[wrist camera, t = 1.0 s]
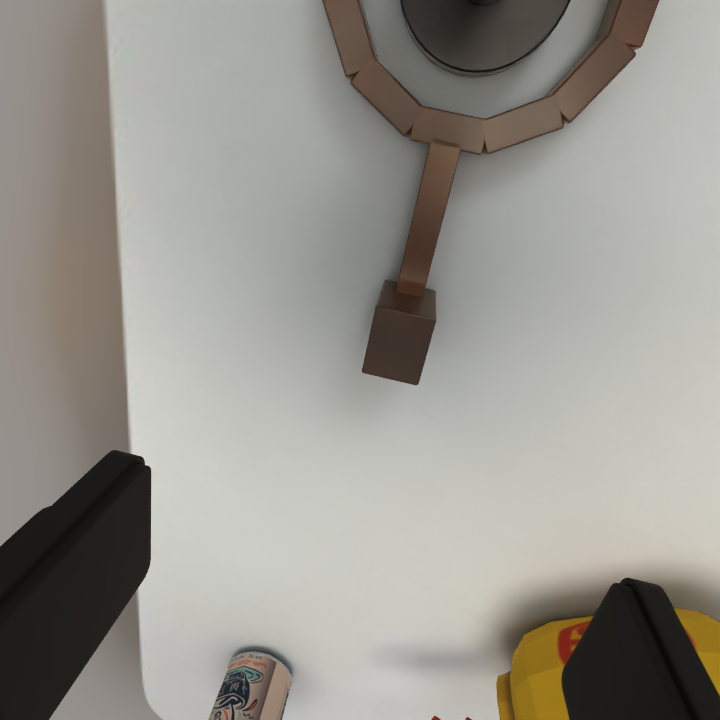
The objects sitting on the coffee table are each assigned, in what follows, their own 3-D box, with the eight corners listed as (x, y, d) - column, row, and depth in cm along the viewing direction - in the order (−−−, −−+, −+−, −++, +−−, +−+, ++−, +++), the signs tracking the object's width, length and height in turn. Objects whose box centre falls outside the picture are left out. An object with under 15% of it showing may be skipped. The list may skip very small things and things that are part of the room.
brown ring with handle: (362, -275, 15) (341, -406, 11) (722, -212, 15) (819, -329, 11) (285, 317, 24) (258, 348, 20) (509, 369, 23) (523, 411, 20)
